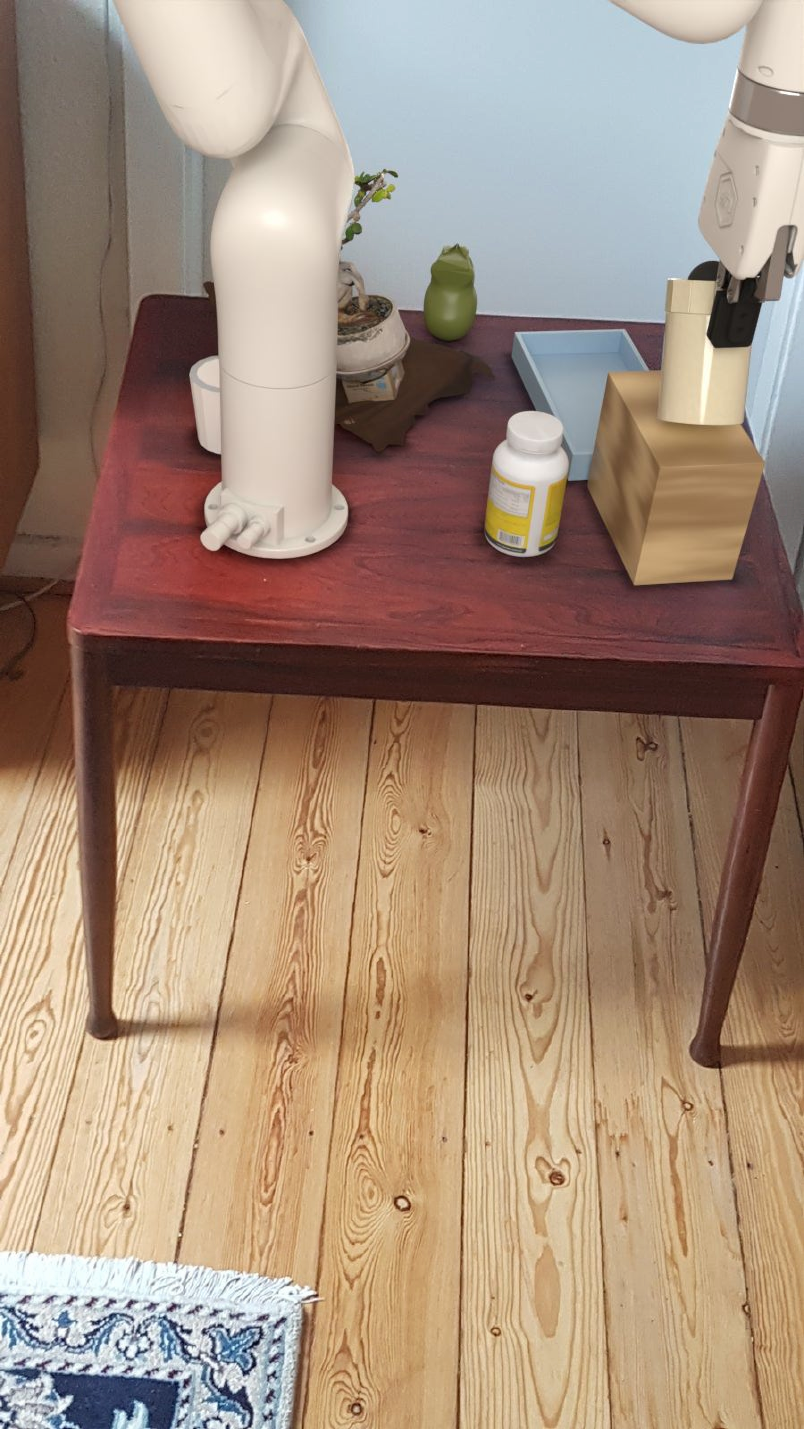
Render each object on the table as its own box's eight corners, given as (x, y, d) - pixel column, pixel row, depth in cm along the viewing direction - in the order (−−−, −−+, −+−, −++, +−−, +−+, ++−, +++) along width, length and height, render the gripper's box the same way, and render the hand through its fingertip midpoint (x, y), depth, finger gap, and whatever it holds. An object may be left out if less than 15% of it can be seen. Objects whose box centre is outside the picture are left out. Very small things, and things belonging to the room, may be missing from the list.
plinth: (732, 579, 125) (765, 462, 116) (633, 585, 123) (660, 467, 115) (678, 482, 135) (705, 368, 127) (586, 486, 134) (607, 371, 125)
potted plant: (392, 484, 136) (318, 238, 119) (248, 453, 146) (162, 224, 130) (504, 372, 146) (450, 131, 129) (361, 351, 156) (295, 125, 140)
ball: (731, 295, 112) (732, 248, 113) (681, 301, 114) (682, 255, 115) (739, 318, 116) (740, 272, 117) (690, 323, 118) (691, 278, 118)
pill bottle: (556, 521, 129) (575, 409, 121) (555, 564, 124) (575, 450, 116) (484, 513, 129) (499, 400, 121) (480, 556, 125) (495, 441, 117)
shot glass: (231, 467, 132) (229, 400, 127) (176, 439, 135) (173, 373, 130) (279, 437, 136) (280, 372, 131) (226, 411, 139) (224, 345, 134)
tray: (689, 475, 136) (696, 449, 134) (568, 481, 134) (572, 454, 132) (620, 353, 152) (625, 328, 150) (511, 357, 150) (514, 331, 148)
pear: (475, 329, 154) (486, 240, 147) (469, 352, 150) (479, 263, 144) (424, 321, 155) (432, 233, 148) (417, 345, 151) (424, 255, 144)
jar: (734, 427, 113) (749, 282, 110) (647, 421, 116) (659, 279, 112) (751, 419, 119) (765, 281, 116) (668, 413, 122) (680, 278, 119)
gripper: (699, 62, 104) (653, 298, 116) (773, 145, 93) (713, 394, 105) (797, 63, 105) (741, 296, 117) (880, 144, 94) (809, 391, 107)
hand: (728, 342), depth 111 cm, fingers closed
